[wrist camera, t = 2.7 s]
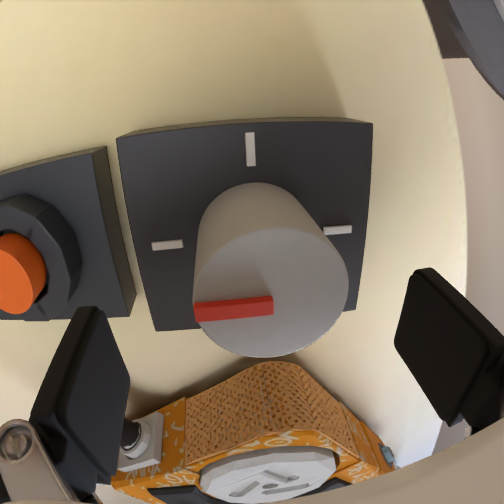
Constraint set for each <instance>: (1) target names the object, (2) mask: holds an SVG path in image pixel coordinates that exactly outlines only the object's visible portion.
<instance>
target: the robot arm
mask: <svg viewBox="0 0 504 504" xmlns="http://www.w3.org/2000/svg"><path fill="white" fill-rule="evenodd" d="M493 2H494V4H495V6H496V8H497V10H498V12H499V14H500V16H501V18H502V19H503V21H504V0H493ZM394 345H395V348H396V350H397V352H398V353H399V355H400V356H401V358H402V359H403V361H404V362H405V364H406V365H407V367H408V368H409V370H410V371H411V373H412V374H413V376H414V377H415V379H416V381H417V382H418V384H419V385H420V387H421V388H422V390H423V392H424V393H425V395H426V396H427V398H428V400H429V401H430V403H431V404H432V406H433V408H434V409H435V411H436V412H437V414H438V416H439V417H440V419H441V420H443V421H446V423H447V425H448V426H449V427H451V426H453V425H455V424H457V423H460V422H461V421H462V420H463V419H465V420H466V422H467V424H466V430H465V436H464V440H462V441H461V442H458V443H456V444H455V445H453V446H450V447H448V448H447V449H444V450H442V451H440V452H438V453H436V454H433V455H431V456H429V457H427V458H424V459H422V460H420V461H417V462H415V463H412V464H410V465H407V466H405V467H402V468H400V469H397V470H394V471H392V472H389V473H386V474H383V475H380V476H377V477H374V478H371V479H368V480H365V481H362V482H359V483H355V484H352V485H348V486H345V487H341V488H337V489H333V490H330V491H325V492H321V493H317V494H313V495H308V496H303V497H298V498H293V499H287V500H282V501H275V502H269V503H262V504H504V336H503V335H502V334H501V333H500V332H499V331H498V330H497V329H496V328H495V327H494V326H493V325H492V324H491V323H490V322H489V321H488V320H487V319H486V318H485V317H484V316H483V315H482V314H481V313H480V312H479V311H478V310H477V309H476V308H475V307H474V306H473V305H472V304H471V303H470V302H469V301H468V300H467V299H466V298H465V297H464V296H463V295H462V294H461V293H459V292H458V291H457V290H456V289H455V288H454V287H453V286H452V285H451V284H450V283H449V282H448V281H446V280H445V279H444V278H443V277H442V276H441V275H440V274H439V273H438V272H436V271H435V270H434V269H433V268H424V269H418V270H415V271H414V273H413V275H411V276H410V278H409V282H408V286H407V291H406V295H405V299H404V304H403V308H402V312H401V316H400V319H399V323H398V327H397V331H396V334H395V338H394ZM129 388H130V377H129V373H128V371H127V368H126V366H125V364H124V361H123V359H122V356H121V354H120V351H119V349H118V346H117V344H116V341H115V339H114V336H113V333H112V331H111V328H110V325H109V322H108V320H107V317H106V314H105V312H104V311H103V310H99V308H98V307H97V306H82V307H78V308H77V309H76V311H75V313H74V315H73V317H72V319H71V321H70V323H69V325H68V327H67V329H66V331H65V333H64V336H63V338H62V340H61V342H60V344H59V346H58V348H57V350H56V353H55V355H54V357H53V359H52V362H51V364H50V366H49V368H48V371H47V373H46V375H45V378H44V380H43V382H42V385H41V387H40V390H39V392H38V395H37V397H36V400H35V402H34V405H33V408H32V410H31V413H30V414H31V416H30V418H29V421H26V420H22V419H13V420H11V421H8V422H6V423H5V424H3V425H2V426H1V427H0V504H103V503H102V502H101V501H100V499H99V498H98V496H97V495H96V494H95V489H96V483H97V484H106V485H110V483H111V476H115V475H116V473H117V466H118V458H119V450H120V443H121V436H122V429H123V423H124V416H125V410H126V404H127V399H128V393H129Z"/></svg>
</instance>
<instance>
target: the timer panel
mask: <svg viewBox="0 0 504 504" xmlns="http://www.w3.org/2000/svg"><path fill="white" fill-rule="evenodd" d="M372 141H373V123H370V122H365V121H359V120H354V119H349V118H325V117H285V118H255V119H237V120H223V121H211V122H200V123H190V124H181V125H173V126H165V127H158V128H151V129H144V130H138V131H133V132H130V133H128V134H125V135H123V136H120V137H118V138H116V144H117V151H118V159H119V166H120V172H121V179H122V185H123V191H124V197H125V203H126V208H127V213H128V219H129V224H130V229H131V234H132V238H133V243H134V248H135V252H136V257H137V261H138V266H139V270H140V274H141V278H142V282H143V286H144V290H145V294H146V298H147V302H148V305H149V309H150V313H151V316H152V320H153V324H154V327H155V330H156V331H172V330H187V329H200V328H201V327H200V325H199V323H198V322H196V320H195V315H194V309H193V300H192V299H193V285H194V272H195V261H196V250H197V239H198V229H199V225H200V221H201V218H202V216H203V214H204V212H205V210H206V209H207V207H208V206H209V205H210V203H211V202H212V201H213V200H214V199H215V198H216V197H218V196H219V195H220V194H221V193H223V192H225V191H226V190H228V189H230V188H232V187H235V186H237V185H241V184H245V183H256V182H260V183H268V184H272V185H275V186H278V187H280V188H282V189H284V190H286V191H288V192H289V193H290V194H292V195H293V196H294V197H295V198H296V199H297V200H298V201H299V202H300V204H301V205H302V206H303V207H304V209H305V210H306V211H307V212H308V214H309V215H310V216H311V217H312V219H313V220H314V221H315V223H316V224H317V225H318V226H319V228H320V229H321V230H322V232H323V233H324V234H325V235H326V237H327V238H328V239H329V241H330V242H331V243H332V244H333V246H334V247H335V248H336V250H337V251H338V253H339V254H340V256H341V257H342V259H343V261H344V263H345V266H346V269H347V273H348V281H349V287H348V295H347V300H346V303H345V306H344V309H343V311H342V312H344V311H351V310H355V309H356V304H357V298H358V291H359V285H360V278H361V271H362V263H363V256H364V247H365V239H366V229H367V219H368V208H369V196H370V182H371V165H372Z"/></svg>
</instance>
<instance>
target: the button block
mask: <svg viewBox="0 0 504 504" xmlns="http://www.w3.org/2000/svg"><path fill="white" fill-rule="evenodd" d="M6 233H17V234H20V235H22V236H24V237H26V238H27V239H29V240H30V241H31V242H32V243H33V244H34V245H35V247H36V248H37V249H38V250H39V252H40V253H41V255H42V257H43V260H44V262H45V266H46V271H47V279H46V283H45V286H44V288H43V289H42V291H41V292H40V293H39V295H38V296H37V298H36V299H35V301H34V302H33V304H32V305H31V306H30V308H29V309H28V310H27V311H26V312H24V313H21V314H12V313H8V312H5V311H3V310H2V309H0V319H1V320H24V321H49V320H51V319H72V317H73V315H74V313H75V311H76V309H77V308H78V307H82V306H97V307H98V308H99V310H103V311H104V312H105V314H106V317H107V318H112V317H129V316H130V314H131V311H132V307H133V304H134V301H135V298H136V291H135V287H134V284H133V280H132V276H131V272H130V268H129V264H128V260H127V256H126V251H125V247H124V243H123V238H122V234H121V229H120V224H119V219H118V214H117V209H116V204H115V199H114V193H113V187H112V181H111V175H110V169H109V163H108V156H107V149H106V146H102V147H97V148H92V149H87V150H82V151H78V152H73V153H69V154H64V155H60V156H56V157H52V158H48V159H44V160H40V161H36V162H32V163H28V164H25V165H21V166H18V167H14V168H11V169H7V170H4V171H1V172H0V236H1V235H3V234H6Z"/></svg>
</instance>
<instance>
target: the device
mask: <svg viewBox="0 0 504 504" xmlns="http://www.w3.org/2000/svg"><path fill="white" fill-rule="evenodd" d="M393 459H394V455H393V453H392V451H391V449H390V448H389V447H388V446H386V447H385V446H384V444H383V442H382V441H381V439H380V438H379V437H378V436H377V435H376V434H375V433H373V432H372V431H371V430H370V429H369V428H368V427H367V426H366V425H365V424H364V423H363V422H361V421H359V420H358V419H357V418H356V417H355V416H354V415H353V414H352V413H351V412H350V411H349V410H348V409H347V408H346V407H345V405H344V404H343V403H342V402H341V401H337V400H336V399H334V398H333V397H332V396H331V395H330V394H329V393H328V392H327V391H326V390H325V389H324V388H323V387H322V386H320V385H319V384H318V383H317V382H316V381H315V380H314V379H313V378H312V377H311V376H310V375H309V374H308V373H307V372H306V371H305V370H304V369H303V368H302V367H300V366H298V365H296V364H293V363H288V362H283V361H266V362H261V363H258V364H256V365H254V366H252V367H249V368H247V369H245V370H243V371H241V372H240V373H238V374H236V375H234V376H232V377H231V378H229V379H227V380H225V381H223V382H221V383H219V384H217V385H215V386H213V387H211V388H209V389H207V390H205V391H203V392H201V393H199V394H197V395H195V396H192V397H190V398H187V397H183V398H181V399H179V400H177V401H175V402H173V403H171V404H169V405H167V406H165V407H163V408H161V409H159V410H157V411H155V412H153V413H151V414H148V415H146V416H144V417H142V418H140V419H135V420H133V421H130V420H128V419H126V418H124V423H123V429H122V436H121V443H120V450H119V458H118V466H117V473H116V475H115V476H111V483H110V484H111V485H112V487H113V488H114V489H116V490H118V491H120V492H123V493H125V494H128V495H130V496H133V497H136V498H138V499H141V500H144V501H146V502H149V503H152V504H262V503H269V502H275V501H282V500H287V499H293V498H298V497H303V496H308V495H313V494H317V493H321V492H325V491H330V490H333V489H337V488H341V487H345V486H348V485H352V484H355V483H359V482H362V481H365V480H368V479H371V478H374V477H377V476H380V475H383V474H386V473H389V472H392V471H394V470H395V468H394V464H393V462H392V460H393ZM101 485H106V484H97V483H96V486H101Z"/></svg>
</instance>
